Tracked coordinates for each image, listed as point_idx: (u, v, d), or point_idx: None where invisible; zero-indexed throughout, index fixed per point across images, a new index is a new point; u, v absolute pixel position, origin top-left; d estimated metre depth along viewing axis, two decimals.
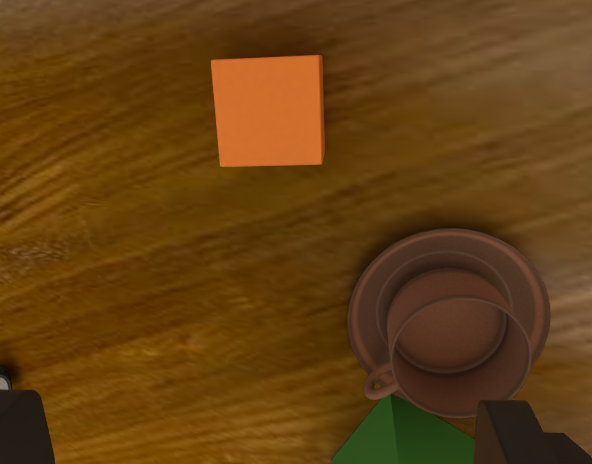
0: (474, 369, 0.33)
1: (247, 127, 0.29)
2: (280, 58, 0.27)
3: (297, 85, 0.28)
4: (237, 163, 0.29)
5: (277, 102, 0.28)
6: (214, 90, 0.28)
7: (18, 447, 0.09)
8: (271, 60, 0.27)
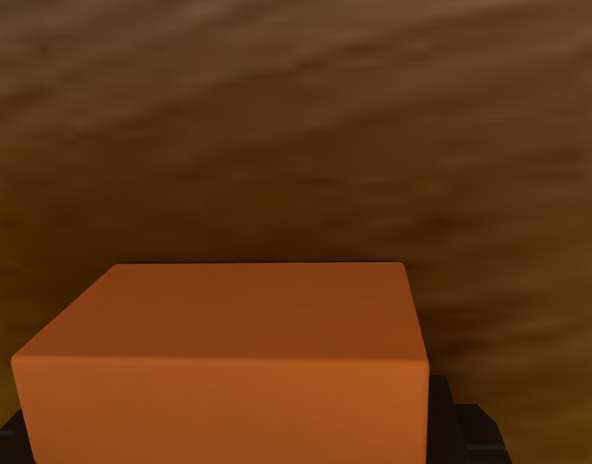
0: None
1: None
2: (275, 368, 0.07)
3: (339, 457, 0.07)
4: None
5: None
6: (34, 450, 0.08)
7: None
8: (238, 373, 0.07)
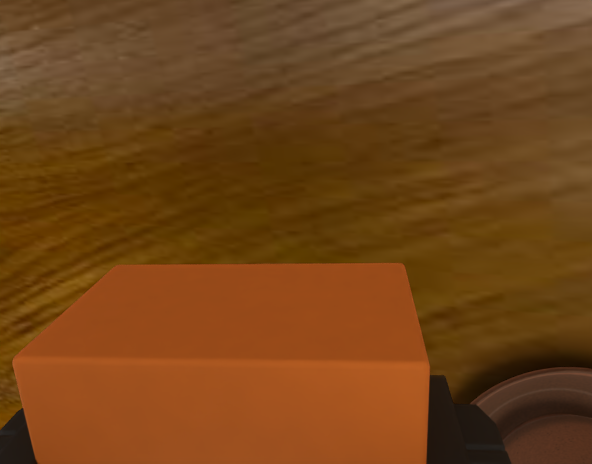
0: None
1: None
2: (276, 369, 0.07)
3: (340, 457, 0.07)
4: None
5: None
6: (36, 450, 0.08)
7: None
8: (239, 374, 0.07)
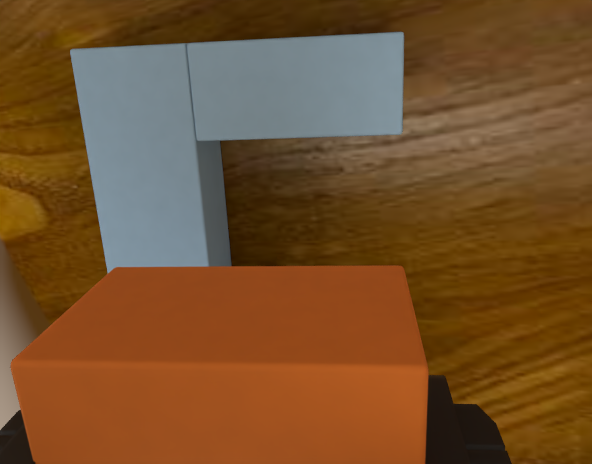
0: None
1: None
2: (274, 373, 0.07)
3: (339, 461, 0.07)
4: None
5: None
6: (34, 454, 0.08)
7: None
8: (238, 377, 0.07)
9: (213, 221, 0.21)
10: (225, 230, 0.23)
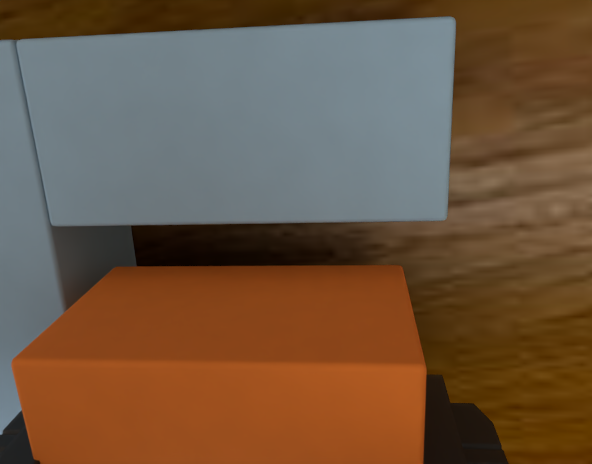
0: None
1: None
2: (273, 372, 0.07)
3: (337, 460, 0.07)
4: None
5: None
6: (35, 452, 0.08)
7: None
8: (237, 376, 0.07)
9: None
10: None
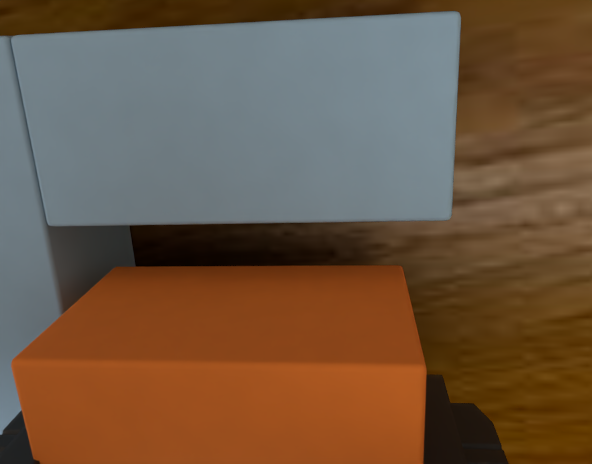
0: None
1: None
2: (273, 372, 0.07)
3: (338, 459, 0.07)
4: None
5: None
6: (35, 452, 0.08)
7: None
8: (237, 376, 0.07)
9: None
10: None
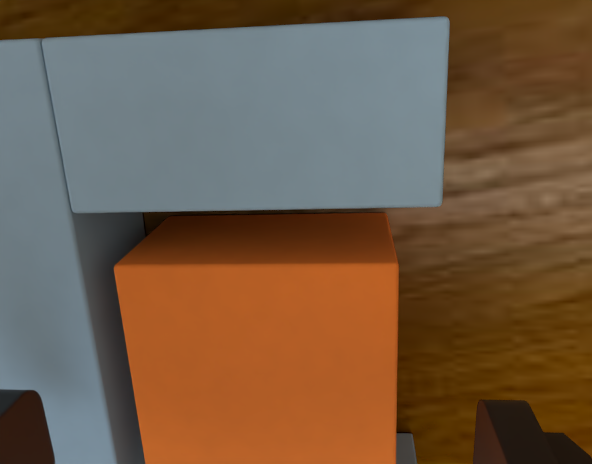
0: None
1: (210, 417, 0.12)
2: (295, 269, 0.10)
3: (338, 333, 0.11)
4: None
5: (286, 367, 0.11)
6: (126, 334, 0.11)
7: (19, 447, 0.09)
8: (271, 273, 0.10)
9: (120, 334, 0.12)
10: None
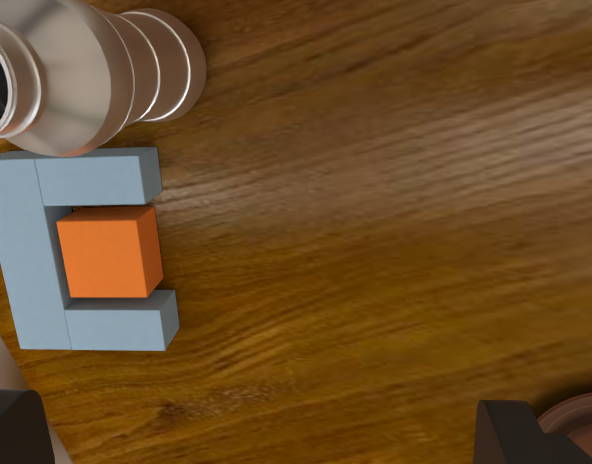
0: None
1: (87, 270, 0.37)
2: (107, 222, 0.36)
3: (122, 241, 0.36)
4: (83, 295, 0.37)
5: (109, 252, 0.36)
6: (61, 243, 0.36)
7: (18, 447, 0.09)
8: (101, 223, 0.36)
9: None
10: None
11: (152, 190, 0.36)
